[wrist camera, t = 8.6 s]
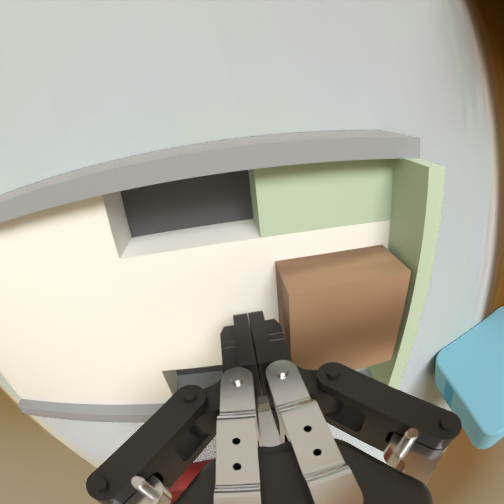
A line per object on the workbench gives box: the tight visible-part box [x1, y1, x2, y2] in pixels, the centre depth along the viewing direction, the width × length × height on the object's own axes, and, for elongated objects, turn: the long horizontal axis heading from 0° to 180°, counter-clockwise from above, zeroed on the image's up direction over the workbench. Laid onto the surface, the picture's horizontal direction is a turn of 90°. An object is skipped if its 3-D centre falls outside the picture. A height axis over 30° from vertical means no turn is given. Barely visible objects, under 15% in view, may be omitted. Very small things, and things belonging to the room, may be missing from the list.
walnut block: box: [275, 245, 411, 370], centre depth 15 cm, size 6×6×3 cm
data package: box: [435, 306, 504, 449], centre depth 21 cm, size 12×4×12 cm, turn 114°
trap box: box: [0, 130, 445, 422], centre depth 16 cm, size 17×30×6 cm, turn 96°
